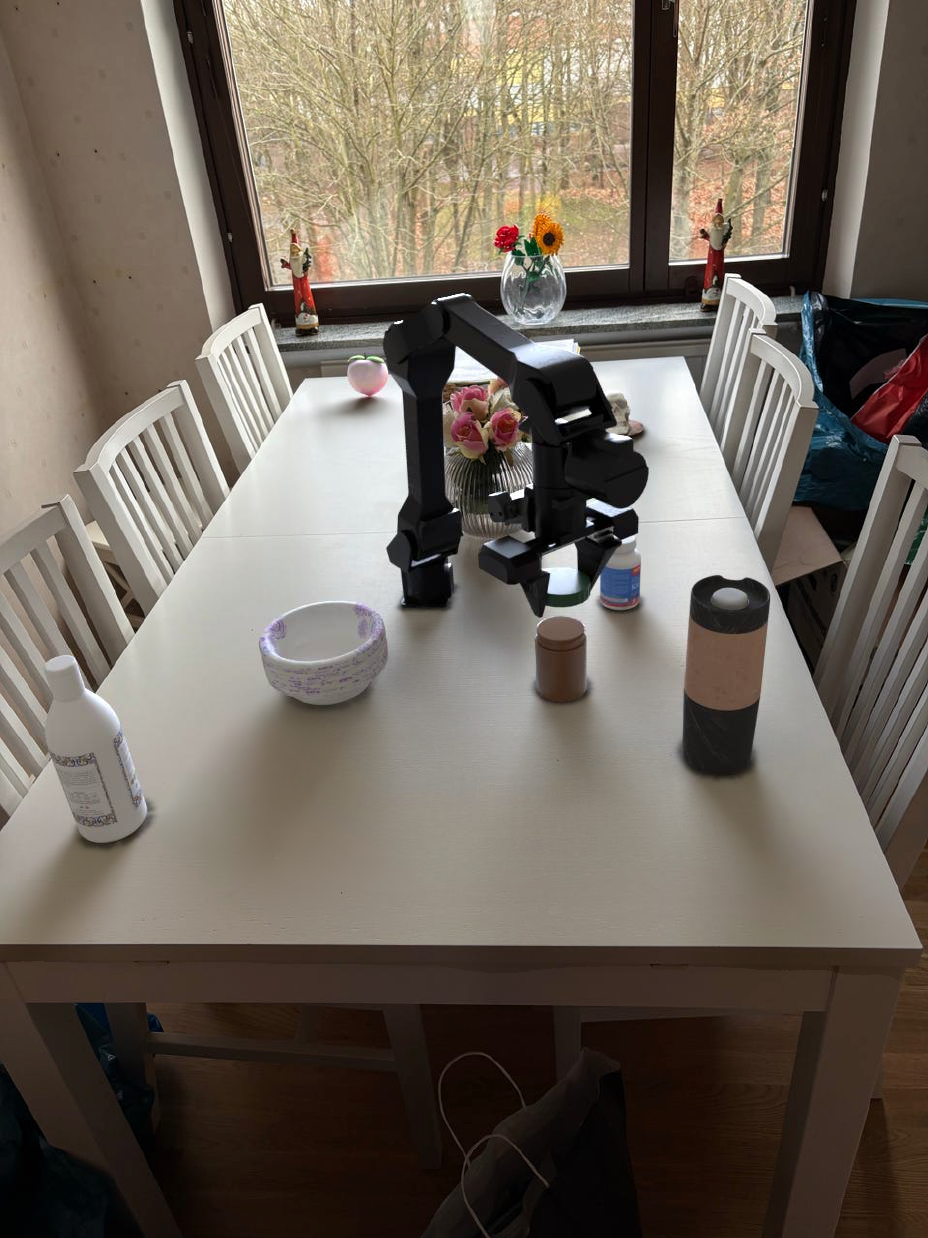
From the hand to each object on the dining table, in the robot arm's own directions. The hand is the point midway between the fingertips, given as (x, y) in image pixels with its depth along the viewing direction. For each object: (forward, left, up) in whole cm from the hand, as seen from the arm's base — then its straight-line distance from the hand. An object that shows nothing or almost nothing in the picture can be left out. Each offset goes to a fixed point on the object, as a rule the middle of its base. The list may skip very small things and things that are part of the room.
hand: (561, 605), depth 109 cm
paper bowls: (-29, -1, -12) cm, 31 cm away
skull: (+3, +87, -12) cm, 88 cm away
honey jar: (0, 0, -11) cm, 11 cm away
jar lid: (0, 0, +3) cm, 3 cm away
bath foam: (-45, -27, -12) cm, 54 cm away
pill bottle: (+6, +21, -12) cm, 25 cm away
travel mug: (+17, -11, -12) cm, 24 cm away
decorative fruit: (-52, +110, -12) cm, 122 cm away
